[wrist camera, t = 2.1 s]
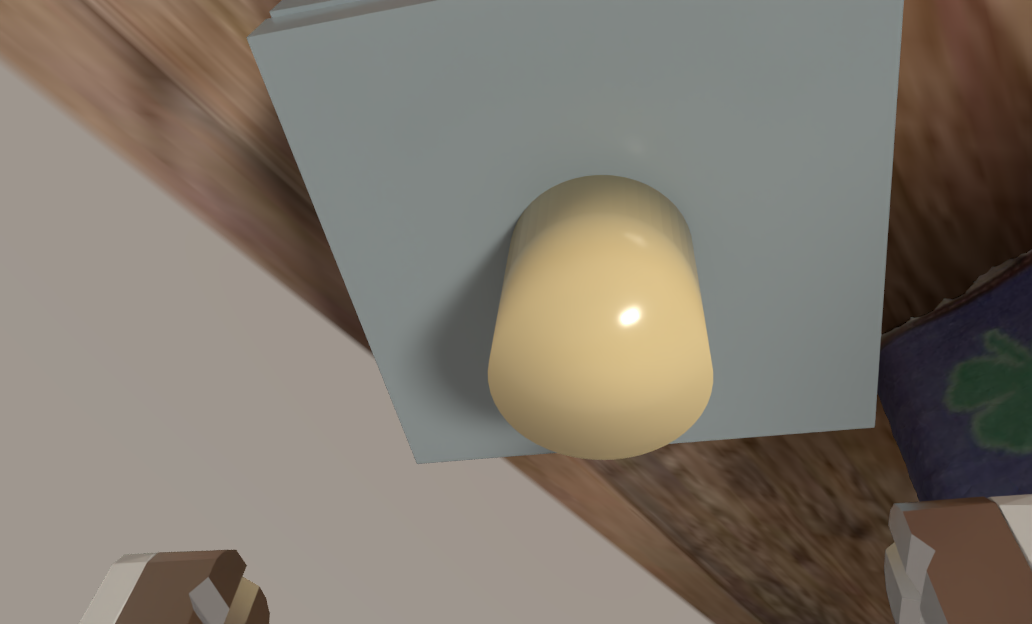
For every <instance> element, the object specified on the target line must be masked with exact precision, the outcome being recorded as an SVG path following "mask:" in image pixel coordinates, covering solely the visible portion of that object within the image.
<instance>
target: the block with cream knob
mask: <svg viewBox="0 0 1032 624" xmlns="http://www.w3.org/2000/svg"><path fill="white" fill-rule="evenodd" d="M903 4H904V0H360V1H355V2H350V3H344V4H339V5H334V6H329V7H324V8H319V9H314V10H309V11H304V12H299V13H294V14H289V15H284V16H279V17H274V18H269V19H266V20H265V21H264V22H263V23H262V24H260V25H259V26H258V27H257V28H256V29H255V30H254V31H253V32H252V33H251V34H250V35H249V36H248V37H246V38H247V40H248V43H249V45H250V48H251V50H252V53H253V55H254V58H255V60H256V63H257V65H258V68H259V70H260V73H261V75H262V78H263V80H264V83H265V85H266V88H267V90H268V93H269V95H270V98H271V100H272V103H273V105H274V108H275V110H276V113H277V115H278V118H279V120H280V123H281V125H282V128H283V130H284V133H285V135H286V138H287V140H288V143H289V145H290V148H291V150H292V153H293V155H294V158H295V160H296V163H297V165H298V168H299V170H300V173H301V175H302V178H303V180H304V183H305V185H306V188H307V190H308V193H309V195H310V198H311V200H312V203H313V205H314V208H315V210H316V213H317V215H318V218H319V220H320V223H321V225H322V228H323V230H324V233H325V235H326V238H327V240H328V243H329V245H330V248H331V250H332V253H333V255H334V258H335V260H336V263H337V265H338V268H339V270H340V273H341V275H342V278H343V280H344V283H345V285H346V288H347V290H348V293H349V295H350V298H351V300H352V303H353V305H354V308H355V310H356V313H357V315H358V318H359V320H360V323H361V325H362V328H363V330H364V333H365V335H366V338H367V340H368V343H369V345H370V348H371V350H372V353H373V355H374V358H375V360H376V363H377V365H378V367H379V370H380V373H381V375H382V378H383V380H384V383H385V385H386V388H387V390H388V393H389V395H390V398H391V400H392V403H393V405H394V407H395V410H396V412H397V415H398V418H399V420H400V422H401V425H402V428H403V430H404V433H405V435H406V438H407V440H408V442H409V445H410V448H411V450H412V452H413V455H414V458H415V460H416V463H417V464H422V463H434V462H446V461H458V460H472V459H483V458H497V457H509V456H522V455H535V454H547V453H559V454H563V455H567V456H571V457H576V458H583V459H593V460H614V459H622V458H629V457H634V456H638V455H642V454H645V453H648V452H651V451H654V450H656V449H659V448H661V447H663V446H665V445H667V444H673V443H685V442H698V441H710V440H723V439H735V438H748V437H761V436H773V435H786V434H798V433H811V432H823V431H836V430H848V429H861V428H874V427H875V416H876V402H877V387H878V372H879V357H880V343H881V328H882V313H883V299H884V284H885V269H886V254H887V240H888V225H889V210H890V196H891V181H892V166H893V151H894V137H895V122H896V107H897V93H898V78H899V63H900V49H901V34H902V19H903Z"/></svg>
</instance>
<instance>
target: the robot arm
mask: <svg viewBox="0 0 1032 624" xmlns="http://www.w3.org/2000/svg"><path fill="white" fill-rule="evenodd" d="M888 525H889V528H890V531H891V534H892V536H893V539H894V543H893V544H892V545H890V546H889V547H888V548H887V549H886V550H885V564H884V572H885V582H886V591H887V595H888V599H889V603H890V608H891V611H892V614H893V617H894V620H895V623H896V624H1032V494H1025V495H1011V496H997V497H988V498H986V497H984V496H982V497H970V498H957V499H945V500H933V501H920V502H908V503H895V504H894V505H893V507H892V508H891V510H890V516H889V523H888ZM246 566H247V565H246V564H245V562H244V561H243V559H242V558H241V556H240V555H239V553H238V552H237V550H214V551H189V552H188V551H187V552H160V553H143V554H126V555H123V556H122V557H121V558H120V559H119V560H117V561H116V562H115V563H114V564H113V565H112V566H111V568H110V570H109V572H108V573H107V575H106V577H105V578H104V581H103V582H102V584H101V585H100V587H99V589H98V591H97V592H96V594H95V596H94V598H93V600H92V601H91V603H90V605H89V606H88V608H87V610H86V612H85V614H84V615H83V617H82V619H81V621H80V623H79V624H269V615H270V613H269V609H268V605H267V600H266V597H265V595H264V594H263V592H262V590H261V589H260V587H259V586H258V585H256V584H254V583H253V582H251V581H249V580H247V579H246V578H244V577H242V576H243V573H244V571H245V568H246Z"/></svg>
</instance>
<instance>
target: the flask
mask: <svg viewBox="0 0 1032 624" xmlns="http://www.w3.org/2000/svg"><path fill="white" fill-rule="evenodd" d="M973 282H974V285H972V286H970V288H969V289H968V290H967V291H966V294H964V295H961V297H958V298H955V299H953V300H952V299H947V298H944V299H943V301H942V302H941V303H939V305H938V306H937V307H936V308H935V310H934V311H932V312H930V313H928V314H927V315H924V316H920V317H916V318H914V317H910V318H911V320H910V321H907V322H906V323H905V324H903V325H902V326H901V327H897V328H895V329H893V330H892V331H889V332H887V333H884V334H882V335H881V343H880V357H879V372H878V387H877V393H878V395H879V398H880V400H881V403H882V406H883V409H884V411H885V414H886V416H887V418H888V420H889V422H890V426H891V429H892V433H893V437H894V439H895V440H896V442H897V445H898V447H899V449H900V451H901V454H902V457H903V459H904V461H905V463H906V466H907V469H908V473H909V477H910V479H911V481H912V484H913V486H914V488H915V490H916V492H917V497H918V499H919V501H933V500H945V499H957V498H970V497H982V496H984V497H986V498H988V497H997V496H1011V495H1025V494H1032V249H1031V250H1030V251H1028V253H1024V254H1020V255H1019V257H1016V259H1013V258H1011V259H1009V260H1007V261H1005V262H1004V263H1002V264H1001V265H999V266H996V267H992V268H991V269H990V270H989V271H988V272H987V273H985V274H983V275H981V276H979V277H978V279H977V280H976V281H973Z"/></svg>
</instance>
